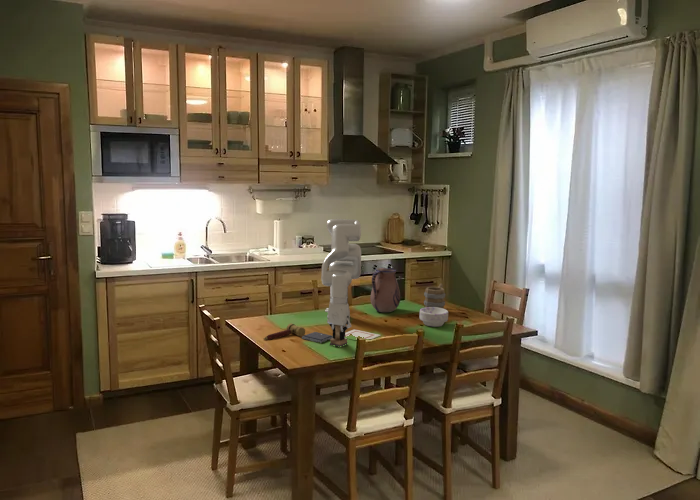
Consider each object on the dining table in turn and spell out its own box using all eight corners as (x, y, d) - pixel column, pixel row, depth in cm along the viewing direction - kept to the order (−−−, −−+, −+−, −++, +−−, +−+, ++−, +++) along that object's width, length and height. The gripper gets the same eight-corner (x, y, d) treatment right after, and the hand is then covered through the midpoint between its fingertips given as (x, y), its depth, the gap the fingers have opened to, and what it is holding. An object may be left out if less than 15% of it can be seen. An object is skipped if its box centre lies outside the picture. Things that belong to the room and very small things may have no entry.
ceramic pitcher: (404, 309, 335) (406, 268, 331) (388, 317, 317) (390, 273, 313) (378, 305, 344) (379, 265, 340) (361, 313, 326) (362, 270, 322)
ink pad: (301, 338, 274) (301, 335, 274) (314, 334, 282) (315, 331, 282) (321, 343, 267) (321, 340, 267) (334, 338, 275) (334, 335, 275)
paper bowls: (440, 330, 294) (441, 315, 292) (414, 325, 302) (414, 310, 301) (452, 323, 306) (452, 309, 305) (426, 319, 314) (427, 305, 313)
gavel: (268, 336, 267) (257, 332, 274) (269, 346, 267) (258, 341, 275) (305, 326, 280) (293, 322, 287) (305, 335, 281) (294, 331, 288)
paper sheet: (336, 336, 279) (336, 335, 279) (354, 329, 291) (354, 329, 291) (363, 342, 270) (363, 341, 270) (380, 335, 282) (380, 334, 282)
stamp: (329, 345, 264) (329, 324, 263) (337, 342, 269) (337, 321, 268) (340, 347, 261) (340, 326, 260) (347, 344, 266) (348, 324, 264)
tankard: (440, 315, 323) (441, 289, 321) (419, 312, 329) (420, 287, 327) (452, 308, 340) (453, 284, 338) (432, 305, 347) (433, 281, 344)
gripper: (320, 299, 264) (320, 337, 266) (349, 304, 254) (348, 343, 257) (330, 296, 270) (329, 333, 272) (358, 301, 260) (357, 340, 263)
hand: (338, 338), depth 265 cm, fingers closed on stamp, 3 cm apart
